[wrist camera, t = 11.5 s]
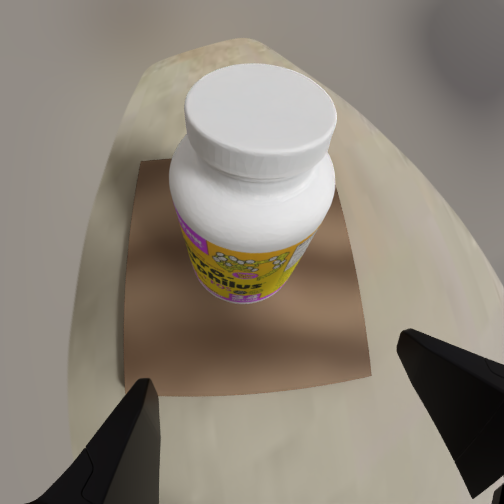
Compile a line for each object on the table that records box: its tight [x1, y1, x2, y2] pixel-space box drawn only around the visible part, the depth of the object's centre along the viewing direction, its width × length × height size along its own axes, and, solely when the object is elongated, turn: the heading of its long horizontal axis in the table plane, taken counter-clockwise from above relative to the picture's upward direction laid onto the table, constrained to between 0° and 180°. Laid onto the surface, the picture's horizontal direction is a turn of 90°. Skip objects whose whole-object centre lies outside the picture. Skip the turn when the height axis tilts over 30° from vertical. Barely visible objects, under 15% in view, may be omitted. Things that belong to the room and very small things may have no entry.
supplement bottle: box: [169, 63, 337, 304], centre depth 14 cm, size 7×7×13 cm
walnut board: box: [124, 159, 371, 396], centre depth 20 cm, size 18×16×1 cm
